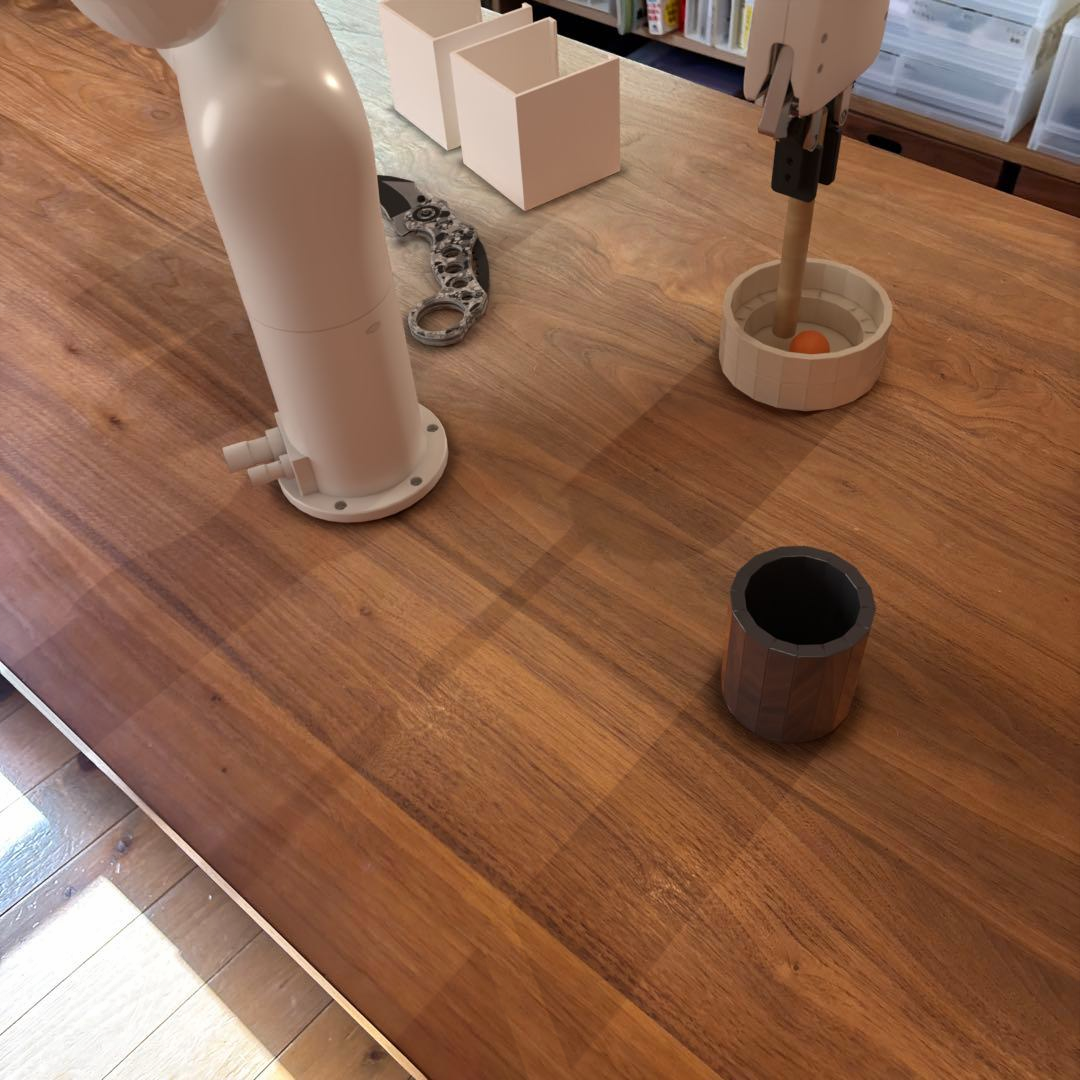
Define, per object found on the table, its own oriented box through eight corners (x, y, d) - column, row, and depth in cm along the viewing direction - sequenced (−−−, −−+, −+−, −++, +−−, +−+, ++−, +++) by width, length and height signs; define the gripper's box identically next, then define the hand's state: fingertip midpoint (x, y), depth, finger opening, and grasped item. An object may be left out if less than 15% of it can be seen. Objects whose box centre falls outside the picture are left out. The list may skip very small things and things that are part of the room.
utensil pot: (759, 766, 63) (774, 676, 56) (698, 665, 68) (706, 572, 61) (875, 720, 65) (903, 627, 58) (808, 624, 70) (826, 529, 63)
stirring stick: (779, 341, 85) (808, 118, 71) (767, 328, 86) (794, 106, 72) (800, 335, 85) (833, 112, 72) (788, 322, 86) (818, 100, 73)
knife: (332, 173, 107) (431, 144, 108) (336, 187, 108) (434, 158, 109) (404, 348, 89) (521, 311, 90) (408, 362, 90) (524, 326, 91)
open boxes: (394, 109, 117) (376, 2, 109) (483, 76, 120) (472, -29, 112) (524, 211, 102) (515, 97, 94) (620, 170, 106) (619, 57, 98)
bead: (806, 364, 82) (789, 329, 82) (793, 382, 84) (777, 348, 85) (842, 352, 82) (825, 318, 83) (828, 370, 85) (812, 337, 86)
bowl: (767, 435, 81) (774, 377, 77) (692, 340, 89) (694, 283, 84) (912, 388, 83) (926, 329, 79) (826, 299, 91) (835, 241, 87)
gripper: (848, -160, 68) (811, 123, 82) (708, -73, 60) (692, 224, 74) (965, -140, 65) (905, 152, 78) (832, -45, 57) (791, 260, 71)
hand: (802, 185), depth 76 cm, fingers closed on stirring stick, 1 cm apart
